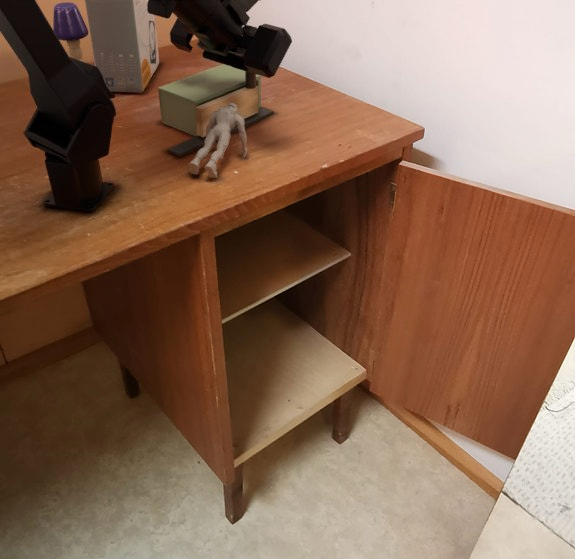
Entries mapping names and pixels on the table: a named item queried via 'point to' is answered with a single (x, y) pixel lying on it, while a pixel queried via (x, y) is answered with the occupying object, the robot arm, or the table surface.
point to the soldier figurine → (220, 137)
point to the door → (242, 98)
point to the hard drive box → (123, 43)
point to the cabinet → (202, 102)
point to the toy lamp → (70, 27)
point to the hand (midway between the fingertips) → (256, 70)
